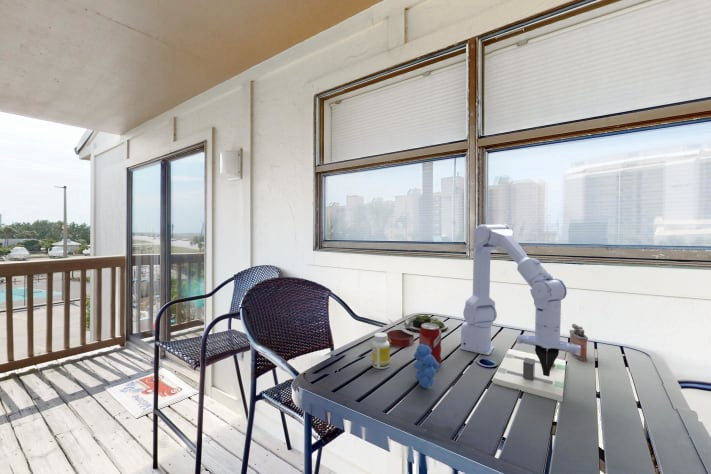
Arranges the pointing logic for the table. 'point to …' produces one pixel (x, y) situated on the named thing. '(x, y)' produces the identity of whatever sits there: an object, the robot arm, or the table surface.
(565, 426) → the table surface
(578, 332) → the lighter
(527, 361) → the handle
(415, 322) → the salad plate
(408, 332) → the dark red bowl
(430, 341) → the soda can
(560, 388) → the switch plate
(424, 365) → the grapes
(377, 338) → the supplement bottle
